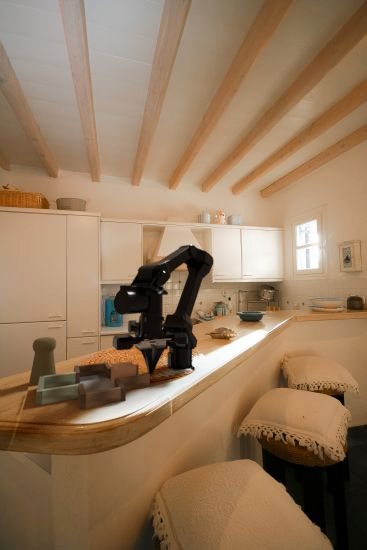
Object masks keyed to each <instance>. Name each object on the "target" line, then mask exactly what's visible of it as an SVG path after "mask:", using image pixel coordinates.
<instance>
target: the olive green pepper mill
mask: <svg viewBox="0 0 367 550" xmlns="http://www.w3.org/2000/svg"><path fill="white" fill-rule="evenodd" d="M56 347H57V341H56V339H55V338H54V337H51V336H49V337H48V336H46V337H45V336H44V337H39V338H36V339H34V341H33V342H32V350H33V351H34V356H33V360H32V366H31V372H30V376H29V382H28V386H29V387H31V385H36V386H38V383H39V378H40V376H47V375H55V374H57V371H56V363H55V361H56V360H55V353H54V351H55V349H56Z"/></svg>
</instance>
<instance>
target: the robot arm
mask: <svg viewBox="0 0 367 550" xmlns="http://www.w3.org/2000/svg"><path fill="white" fill-rule="evenodd" d="M183 264H184V265H186V269H187V272H188V274H187V278H186V280H185V284H184V286H183V289H182V291H181V295H180V298H179V300H178V303H177V306H176V309H175V311H174V312H173V313H172V314H171V313H168V314H166V316H163V308H164V307H163V306H164V301H163V300H164V297H163V296H167V295H168V294H169V292H168V291H167V290H166V289H165V288H164V285H165V284H166V283H167V282H168V281H169V280H170V279H171V275H172V273H173V272H174V271H175V270H176V269H178V268H179V267H180V266H182V265H183ZM213 266H214V258H213V256H212V255H211V254H210V253H209V252H208V251H206V250H204V249H202V248H198V247H197V246H195V245H194V244H186V245H185V244H183V245H181V246H179V247H178V248H177V249H176V250H173V252H171V253H169V254H167V256H165V257H163V258H161V259H160V260H158V261H154V262H150V263H146V264H143V265H141V266H140V267H138V268H137V274H136V275H135V277H134V278H133V280H132V282H131V283H130V285H128V284H124V285H122V284H121V285H119V290H118V292H116V294H115V296H114V299H113V300H112V301H113V308H114V311H115V312H116V313H117V314H118V315H121V316H124V315H134V314H140V315H139V318H138V321H137V320H135V319H134V320H128V323H127V330H128V334H126V333H125V334H124V333H123V334H115V335H114V336H113V337H112V347H113V348H114V349H115V350H116V351H125V350H126V351H127V350H131V349H132V348H133V347H135V349H136V350H138V351H139V352H141V355H142V357H143V360H144V363H145V366H146V369H147V374H149V375H153V374H154V373H155V370H156V368H157V365H158V364H159V361H160V359H161V357H162V355H163V353H164V352H165V350H168V352H167V364H166V366H167V367H168V368H169V369H172V370H173V371H183V370H188V369H189V370H194V369H195V368H196V367H195V366H194V365H193V350H195V348H197V345H198V339H197V337H196V336H195V334H194V333H193V328H194V327H193V322H192V317H191V316H192V314H193V310H194V307H195V304H196V301H197V299H198V296H199V295H198V294H199V291H200V288H201V285H202V282H203V279H204V278H205V277H207V276H208V275H209V273H210V272H211V270H212V267H213ZM131 334H134V336H133V335H131Z"/></svg>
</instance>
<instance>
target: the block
mask: <svg viewBox="0 0 367 550" xmlns="http://www.w3.org/2000/svg"><path fill="white" fill-rule="evenodd" d="M110 366H111V382H112V383H113V385H114V379H115V378H122V377H128V376H135V375H136V366H135V365H134V363H133V362H132V361H126V362H117V363H111V364H110Z"/></svg>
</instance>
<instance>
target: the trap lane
mask: <svg viewBox="0 0 367 550" xmlns="http://www.w3.org/2000/svg"><path fill="white" fill-rule="evenodd" d="M133 364H134V363H133ZM134 365H135V366H136V375H135V376H128V377H122V378H115V379H114V385H113V383H112V382H111V364H110V363H109V361H105V362H96V363H90V364H89V363H88V364H80V365H78V364H77V365H74V366H73V371H71V372H65V373H56V374H55V375H47V376H40V378H39V383H38V385H37V387H36V393H35V407H36V406H42V405H48V404H54V403H59V402H65V401H70V400H75V399H78V400H77V401H78V406H79V410H84V409H90V408H95V407H99V406H105V405H109V404H110V405H111V404H114V403H115V404H116V403H120V402H126V399H127V398H126V395H127V394H126V393H127V390H133V389H139V388H145V387H146V388H147V387H151V386H150V385H151V384H150V383H151V382H150V381H151V380H150V378H151V377H150V376H151V374H149V373H143V374H139V371H140V369H139V367H140V366H139V364H138V363H135V364H134Z"/></svg>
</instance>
